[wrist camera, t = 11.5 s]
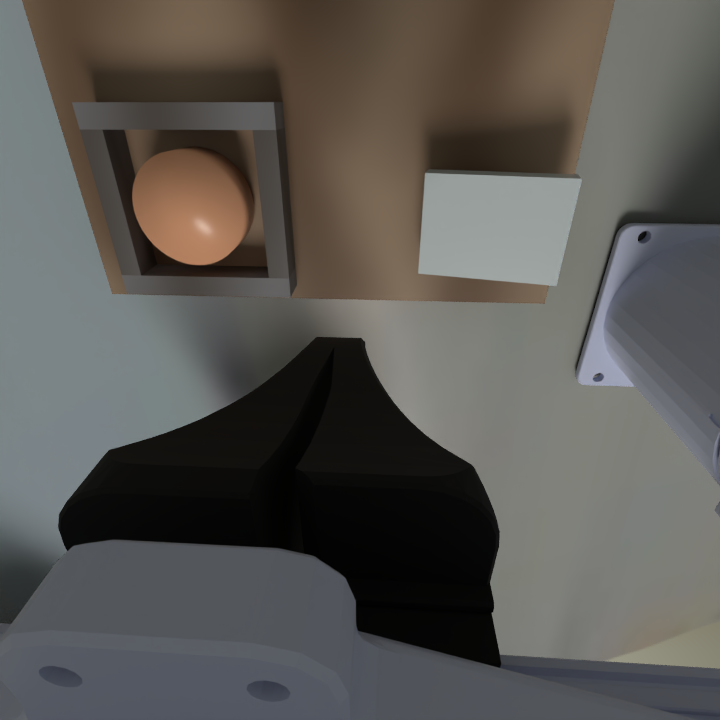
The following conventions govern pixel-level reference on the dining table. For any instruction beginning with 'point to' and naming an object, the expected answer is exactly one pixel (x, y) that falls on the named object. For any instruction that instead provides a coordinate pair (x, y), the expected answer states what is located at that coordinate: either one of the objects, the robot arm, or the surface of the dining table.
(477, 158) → the panel
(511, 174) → the grey flat tile
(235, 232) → the push button
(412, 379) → the dining table surface
